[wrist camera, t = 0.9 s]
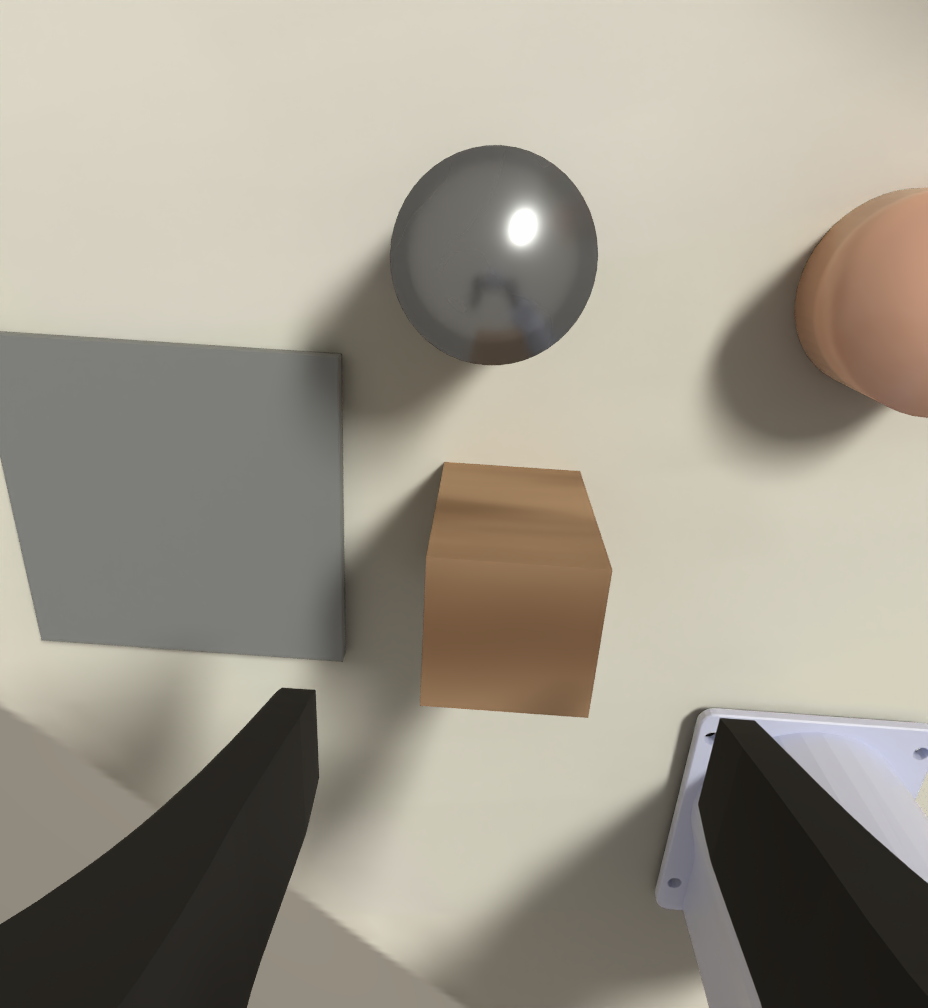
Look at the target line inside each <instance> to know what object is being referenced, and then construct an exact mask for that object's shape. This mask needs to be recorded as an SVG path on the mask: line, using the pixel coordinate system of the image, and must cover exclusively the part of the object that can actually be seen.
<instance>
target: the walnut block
mask: <svg viewBox="0 0 928 1008" xmlns="http://www.w3.org/2000/svg"><path fill="white" fill-rule="evenodd" d="M611 575H612V568H611V565H610V561H609V558H608V555H607V552H606V549H605V546H604V543H603V540H602V537H601V534H600V531H599V528H598V525H597V522H596V519H595V516H594V513H593V510H592V507H591V504H590V500H589V497H588V494H587V491H586V488H585V485H584V482H583V479H582V476H581V473H580V471H569V470H554V469H539V468H524V467H510V466H495V465H480V464H465V463H450V462H444V467H443V472H442V477H441V482H440V487H439V493H438V498H437V503H436V508H435V513H434V519H433V524H432V529H431V534H430V539H429V545H428V550H427V555H426V572H425V597H424V622H423V647H422V672H421V697H420V706H433V707H447V708H461V709H475V710H488V711H502V712H516V713H530V714H543V715H557V716H571V717H585V718H588V715H589V709H590V703H591V697H592V691H593V685H594V679H595V672H596V666H597V660H598V654H599V648H600V642H601V636H602V630H603V624H604V618H605V612H606V605H607V599H608V593H609V587H610V581H611Z"/></svg>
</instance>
